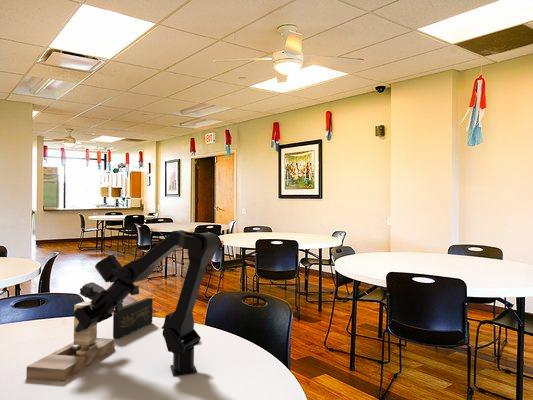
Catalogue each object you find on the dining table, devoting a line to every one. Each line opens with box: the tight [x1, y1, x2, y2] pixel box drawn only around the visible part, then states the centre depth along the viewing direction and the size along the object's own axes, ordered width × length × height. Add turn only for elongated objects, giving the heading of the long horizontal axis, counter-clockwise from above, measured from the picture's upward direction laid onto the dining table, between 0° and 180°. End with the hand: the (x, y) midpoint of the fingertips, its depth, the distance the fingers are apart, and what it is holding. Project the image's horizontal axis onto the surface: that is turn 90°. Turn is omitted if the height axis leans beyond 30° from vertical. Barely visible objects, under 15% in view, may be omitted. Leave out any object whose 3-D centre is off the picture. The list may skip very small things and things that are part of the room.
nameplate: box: [112, 297, 154, 340], centre depth 147 cm, size 21×2×10 cm, turn 163°
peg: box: [73, 301, 98, 356], centre depth 121 cm, size 5×5×15 cm
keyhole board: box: [25, 337, 116, 383], centre depth 116 cm, size 24×11×3 cm, turn 171°
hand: (81, 328), depth 121 cm, fingers closed on peg, 5 cm apart
